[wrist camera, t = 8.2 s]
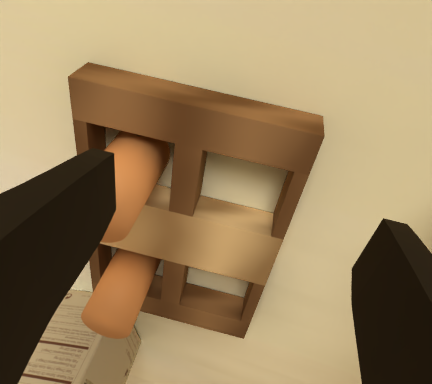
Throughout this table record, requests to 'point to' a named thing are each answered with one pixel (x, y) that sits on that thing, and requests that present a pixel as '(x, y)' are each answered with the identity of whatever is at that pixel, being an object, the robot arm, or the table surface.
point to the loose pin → (134, 178)
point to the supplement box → (79, 350)
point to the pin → (120, 294)
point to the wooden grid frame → (198, 187)
